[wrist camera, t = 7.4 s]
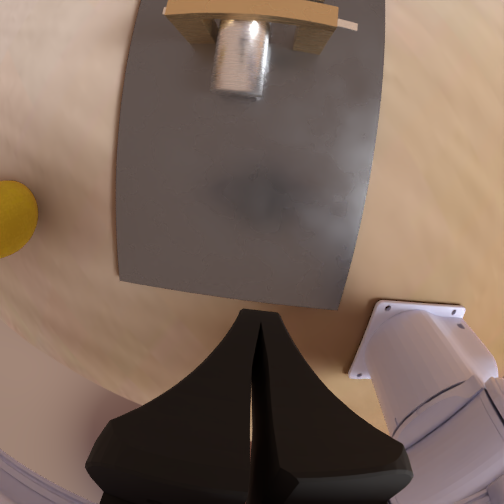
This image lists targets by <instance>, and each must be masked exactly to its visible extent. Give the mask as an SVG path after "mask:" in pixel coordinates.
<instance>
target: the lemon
mask: <svg viewBox="0 0 504 504" xmlns="http://www.w3.org/2000/svg"><path fill="white" fill-rule="evenodd" d="M37 220H38V207H37V203H36V200H35V198H34V195H33V194H32V192H31V191H30V190H29V189H28V188H27V187H26V186H25V185H23V184H21V183H19V182H17V181H0V258H3V257H6V256H9V255H11V254H13V253H15V252H17V251H18V250H20V249H21V248H22V247H23V246H24V245H25V244H26V243H27V242H28V241H29V240H30V238H31V237H32V235H33V233H34V231H35V228H36V225H37Z"/></svg>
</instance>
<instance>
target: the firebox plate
mask: <svg viewBox="0 0 504 504" xmlns="http://www.w3.org/2000/svg"><path fill="white" fill-rule="evenodd" d="M220 19H234V20H252V21H264V22H271V29H270V36H269V44H268V52H267V60H266V67H265V75H264V83H263V91H262V96H261V97H234V96H226V95H220V94H215V93H212V92H210V84H211V77H212V70H213V63H214V56H215V49H216V43H217V37H218V31H219V25H220ZM384 46H385V0H141V3H140V7H139V11H138V15H137V19H136V23H135V27H134V31H133V36H132V41H131V45H130V51H129V56H128V61H127V67H126V73H125V80H124V87H123V94H122V102H121V111H120V121H119V132H118V146H117V166H116V232H117V252H118V266H119V278H120V281H125V282H131V283H136V284H142V285H148V286H153V287H159V288H165V289H171V290H178V291H184V292H190V293H197V294H204V295H211V296H218V297H225V298H232V299H240V300H247V301H255V302H263V303H272V304H280V305H289V306H298V307H308V308H318V309H329V310H338V307H339V304H340V300H341V297H342V294H343V290H344V287H345V283H346V279H347V276H348V272H349V268H350V264H351V261H352V257H353V253H354V249H355V245H356V240H357V236H358V232H359V228H360V223H361V219H362V214H363V209H364V204H365V199H366V194H367V189H368V184H369V178H370V173H371V167H372V161H373V155H374V148H375V142H376V134H377V127H378V119H379V111H380V101H381V91H382V79H383V65H384Z"/></svg>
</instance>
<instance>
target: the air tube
mask: <svg viewBox="0 0 504 504" xmlns="http://www.w3.org/2000/svg"><path fill="white" fill-rule="evenodd" d="M270 29H271V22H264V21H252V20H234V19H220V25H219V31H218V37H217V43H216V49H215V56H214V63H213V70H212V77H211V84H210V92H212V93H215V94H220V95H226V96H234V97H261V96H262V91H263V83H264V75H265V67H266V60H267V52H268V44H269V36H270Z"/></svg>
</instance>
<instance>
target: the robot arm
mask: <svg viewBox="0 0 504 504" xmlns="http://www.w3.org/2000/svg"><path fill="white" fill-rule="evenodd" d="M388 305H389V307H388V308H386V309H385V307H386V306H388ZM452 311H453V312H452ZM464 313H465V308H464V307H463V306H460V305H444V304H429V303H415V302H402V301H390V300H380V301H378V302H377V303H376V304H375V307H374V310H373V313H372V315H371V318H370V321H369V323H368V326H367V329H366V331H365V334H364V336H363V339H362V341H361V344H360V346H359V349H358V351H357V354H356V356H355V358H354V361H353V363H352V365H351V367H350V370H349V372H348V376H349V378H351V379H371V380H372V383H373V386H374V388H375V391H376V394H377V397H378V400H379V403H380V406H381V409H382V412H383V415H384V418H385V421H386V424H387V427H388V431H389V434H390V436H388V435H386V434H385V433H383V432H381V431H380V430H378V429H376V428H375V427H373V426H372V425H371V424H369V423H368V422H366V421H365V420H364V419H362V418H361V417H359V416H358V415H357V414H356V413H354V412H353V411H352V410H351V409H349V408H348V407H347V406H346V405H345V404H344V403H343V402H342V401H340V400H339V399H338V398H337V397H336V396H335V395H334V394H333V393H332V392H331V391H330V390H329V389H328V388H327V387H326V386H325V385H324V383H323V382H322V381H321V380H320V379H319V378H318V376H317V375H316V374H315V373H314V371H313V370H312V369H311V367H310V366H309V365H308V363H307V362H306V361H305V359H304V358H303V356H302V355H301V353H300V352H299V350H298V348H297V347H296V345H295V343H294V342H293V340H292V338H291V337H290V335H289V333H288V331H287V329H286V327H285V325H284V323H283V321H282V319H281V316H280V315H279V314H278V313H276V312H267V311H259V310H251V309H242V310H240V312H239V315H238V317H237V319H236V321H235V322H234V324H233V326H232V327H231V329H230V330H229V332H228V333H227V334H226V336H225V337H224V338H223V340H222V341H221V342H220V344H219V345H218V346H217V347H216V348H215V349H214V351H213V352H212V353H211V354H210V355H209V356H208V357H207V358H206V359H205V360H204V361H203V362H202V363H201V364H200V365H199V366H198V367H197V368H196V369H195V370H194V371H193V372H191V373H190V374H189V375H188V376H187V377H185V378H184V379H183V380H182V381H180V382H179V383H178V384H176V385H175V386H174V387H172V388H171V389H169V390H168V391H166V392H165V393H163V394H162V395H160V396H158V397H157V398H155V399H153V400H152V401H150V402H148V403H147V404H145V405H143V406H141V407H139V408H137V409H135V410H133V411H130V412H128V413H126V414H124V415H122V416H120V417H117V418H115V419H112V420H110V421H109V422H108V424H107V425H106V427H105V428H104V429H103V431H102V433H101V434H100V436H99V437H98V438H97V440H96V442H95V444H94V446H93V448H92V450H91V453H90V455H89V457H88V459H87V461H86V464H85V468H86V470H87V472H88V474H89V475H90V477H91V478H92V479H93V480H94V481H95V483H96V484H97V485H98V486H99V487H100V488H101V489H102V490H103V491H104V493H103V496H102V498H101V501H100V504H245V502H246V504H504V379H503V378H502V377H498V369H497V364H496V361H495V359H494V357H493V355H492V354H491V353H490V351H489V350H488V349H487V347H486V346H485V345H484V344H483V342H482V341H481V340H480V339H479V338H478V336H477V335H476V334H475V333H474V332H473V330H472V329H471V328H470V327H469V326H468V325H467V323H466V322H465V321H464V320H463V319H462V317H463V315H464ZM359 373H360V374H359ZM251 389H252V426H253V428H252V448H251V459H250V402H251ZM0 504H97V503H95V502H92V501H89V500H88V499H85V498H83V497H81V496H79V495H77V494H75V493H72V492H70V491H68V490H66V489H64V488H62V487H60V486H59V485H57V484H55V483H53V482H51V481H49V480H48V479H46V478H44V477H42V476H41V475H39V474H37V473H35V472H34V471H32V470H31V469H29V468H27V467H26V466H24V465H23V464H21V463H20V462H18V461H16V460H15V459H14V458H12V457H11V456H9V455H8V454H7V453H5V452H4V451H2V450H1V449H0Z"/></svg>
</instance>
